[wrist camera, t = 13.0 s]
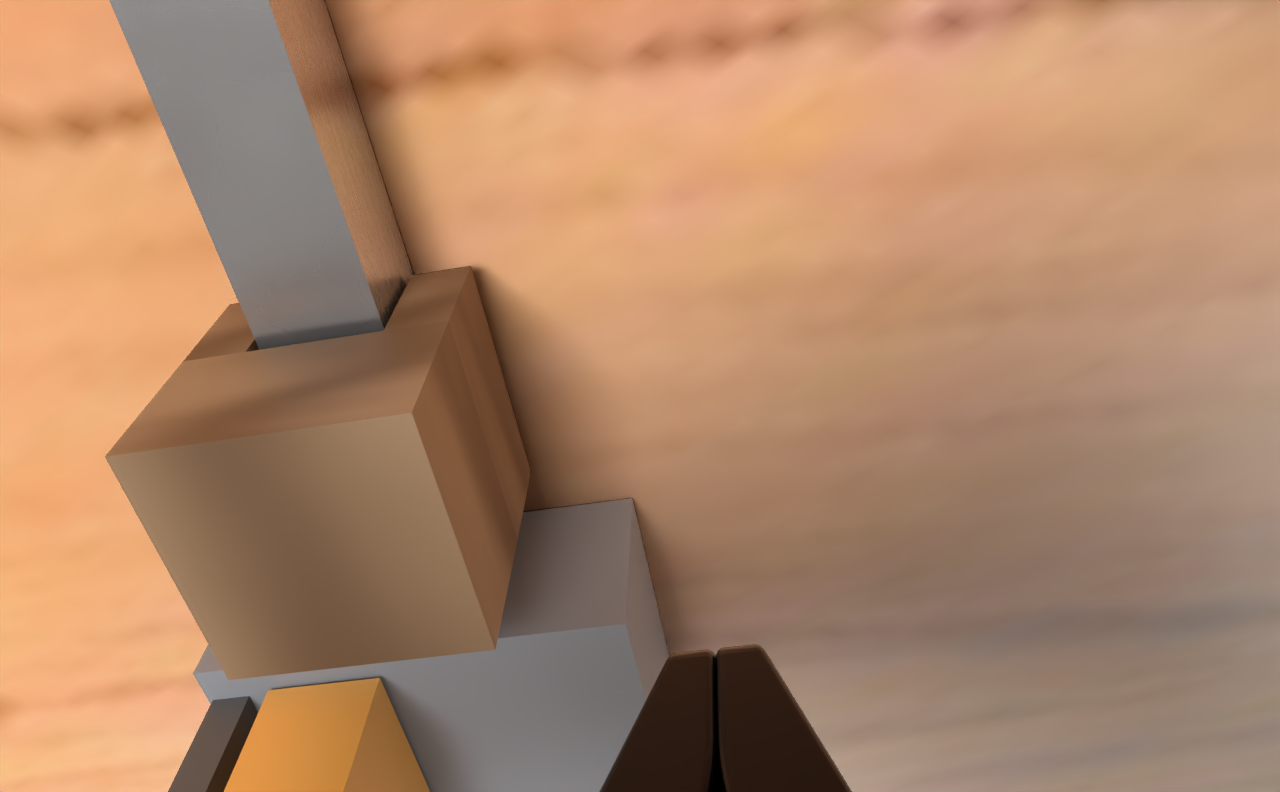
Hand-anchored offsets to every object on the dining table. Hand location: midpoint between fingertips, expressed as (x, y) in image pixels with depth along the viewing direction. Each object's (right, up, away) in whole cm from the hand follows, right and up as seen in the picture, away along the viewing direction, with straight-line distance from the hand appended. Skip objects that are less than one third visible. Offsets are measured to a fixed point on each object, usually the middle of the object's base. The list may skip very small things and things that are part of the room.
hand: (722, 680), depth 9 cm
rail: (-7, +6, +11) cm, 14 cm away
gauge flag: (-7, -5, +13) cm, 15 cm away
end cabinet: (-5, -3, +16) cm, 17 cm away
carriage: (-6, +3, +12) cm, 14 cm away
